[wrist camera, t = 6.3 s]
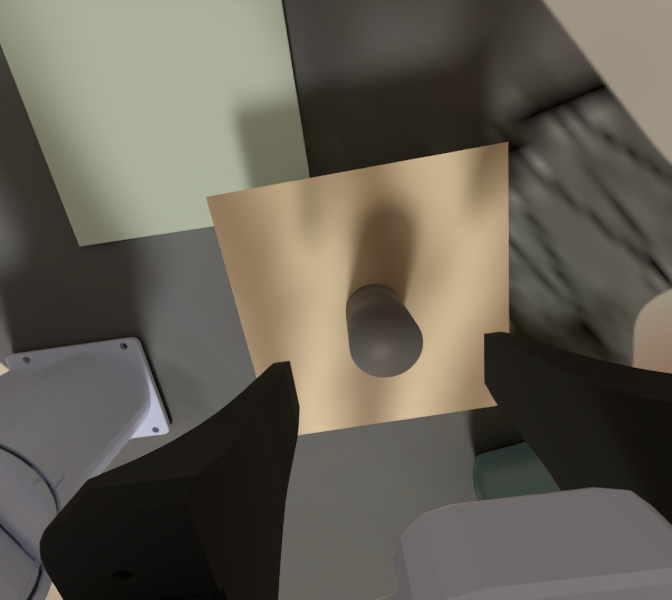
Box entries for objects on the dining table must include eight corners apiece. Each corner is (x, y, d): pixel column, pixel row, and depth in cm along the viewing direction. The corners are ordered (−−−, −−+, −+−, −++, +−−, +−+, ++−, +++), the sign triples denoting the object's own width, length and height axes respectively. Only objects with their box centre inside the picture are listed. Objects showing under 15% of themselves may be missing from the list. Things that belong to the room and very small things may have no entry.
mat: (84, 245, 21) (79, 246, 20) (-32, -54, 16) (-40, -60, 16) (315, 210, 20) (314, 210, 20) (264, -109, 16) (262, -117, 15)
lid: (276, 429, 20) (259, 498, 15) (211, 196, 16) (162, 197, 11) (502, 395, 19) (554, 456, 15) (499, 144, 15) (570, 122, 11)
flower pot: (445, 441, 26) (501, 563, 17) (556, 410, 25) (673, 522, 16) (467, 518, 28) (526, 658, 20) (569, 492, 27) (676, 626, 19)
